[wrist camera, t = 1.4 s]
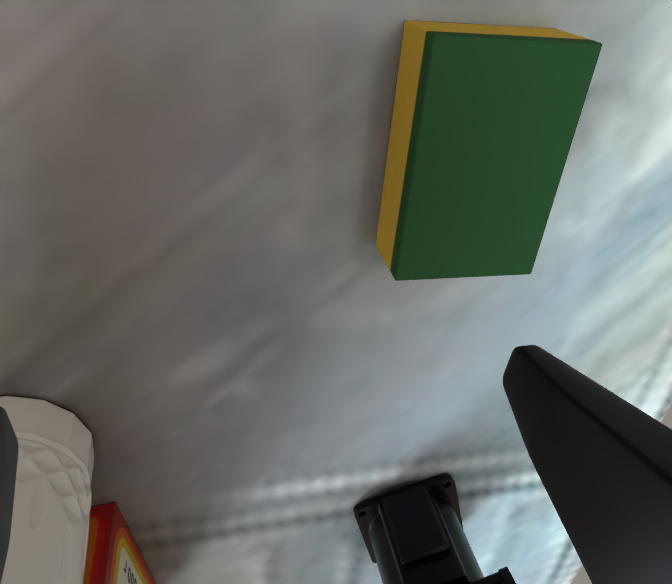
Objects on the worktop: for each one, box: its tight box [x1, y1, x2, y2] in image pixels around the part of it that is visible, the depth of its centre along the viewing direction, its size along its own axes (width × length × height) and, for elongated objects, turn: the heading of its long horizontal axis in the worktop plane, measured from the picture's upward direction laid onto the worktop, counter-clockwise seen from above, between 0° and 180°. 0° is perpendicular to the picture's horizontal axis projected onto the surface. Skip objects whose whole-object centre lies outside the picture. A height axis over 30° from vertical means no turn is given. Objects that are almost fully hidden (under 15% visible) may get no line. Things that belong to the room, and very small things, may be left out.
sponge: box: [376, 20, 602, 281], centre depth 22 cm, size 9×6×3 cm, turn 176°
